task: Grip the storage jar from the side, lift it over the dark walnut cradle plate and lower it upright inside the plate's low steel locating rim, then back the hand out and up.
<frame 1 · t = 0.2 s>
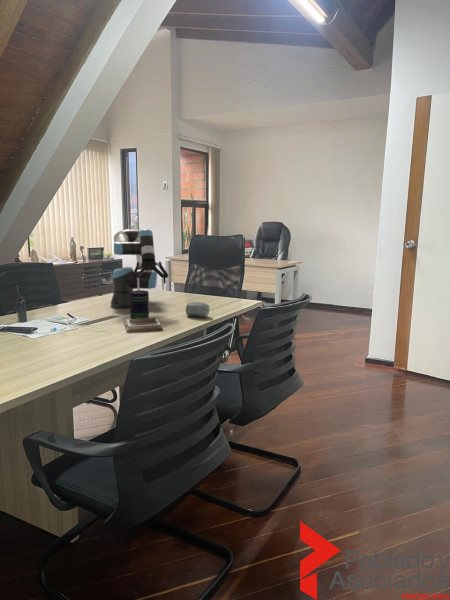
hand: (151, 289, 236), 15 cm above the table, fingers open, 13 cm apart
cradle plate: (143, 327, 213), on the table
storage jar: (139, 319, 229), on the table
spool: (197, 316, 239), on the table
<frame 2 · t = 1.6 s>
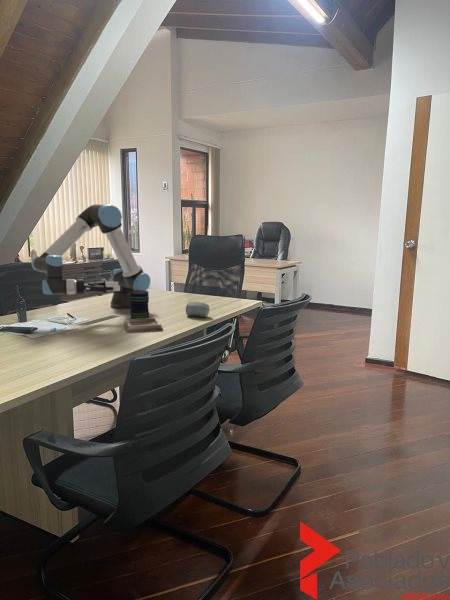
hand: (119, 286, 222), 18 cm above the table, fingers open, 13 cm apart
nothing on the table moved.
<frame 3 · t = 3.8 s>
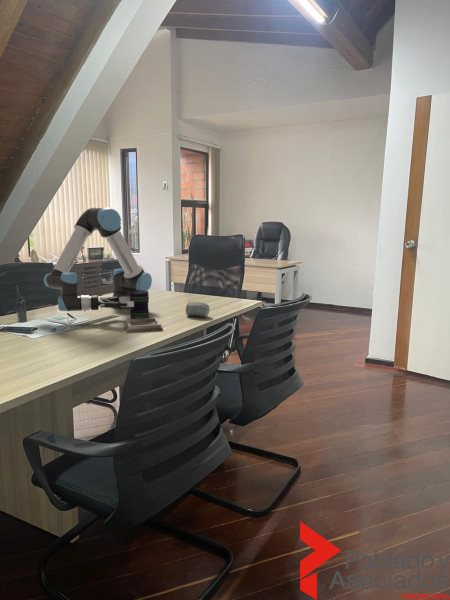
hand: (132, 301, 225), 10 cm above the table, fingers open, 13 cm apart
nothing on the table moved.
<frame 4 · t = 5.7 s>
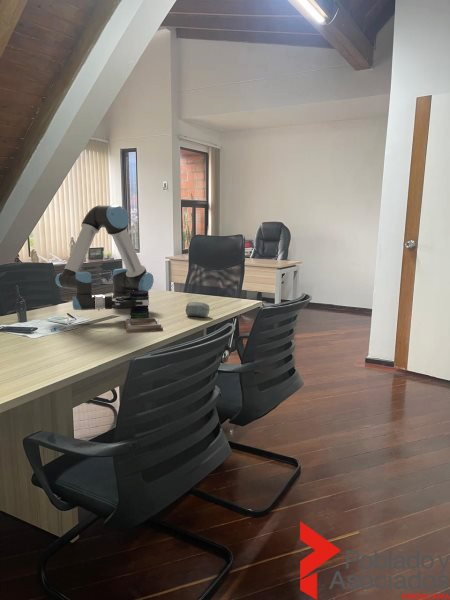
hand: (147, 300, 228), 10 cm above the table, fingers closed on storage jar, 10 cm apart
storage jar: (139, 319, 229), on the table, touching gripper
everything else where it was.
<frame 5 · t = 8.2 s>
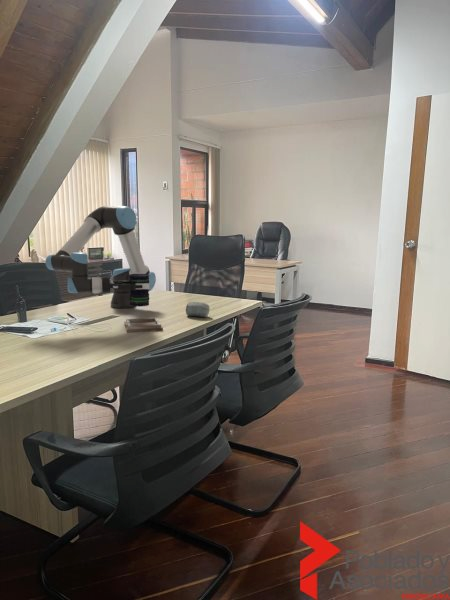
hand: (148, 284, 213), 21 cm above the table, fingers closed on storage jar, 10 cm apart
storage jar: (139, 305, 214), point 11 cm above the table, touching gripper
everything else where it was.
when the fingers open (12 cm above the table, at t = 10.8 s): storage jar drops 1 cm, resting on cradle plate.
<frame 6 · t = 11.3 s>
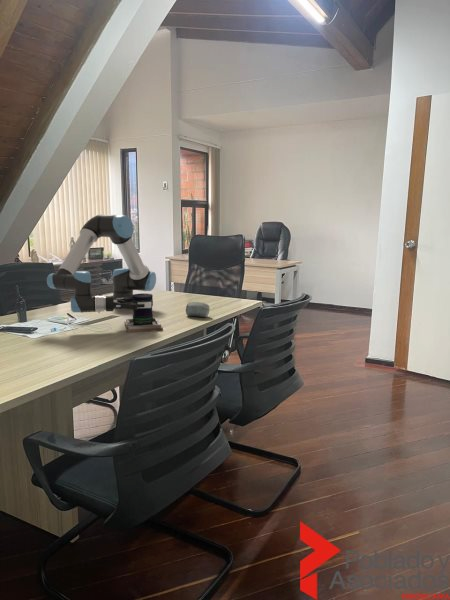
hand: (149, 302, 211), 12 cm above the table, fingers open, 13 cm apart
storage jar: (143, 325, 213), point 1 cm above the table, touching cradle plate
everything else where it was.
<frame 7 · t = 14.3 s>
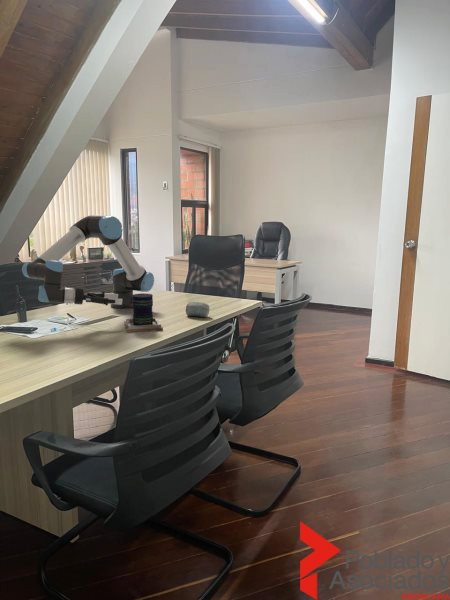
hand: (120, 299, 210), 14 cm above the table, fingers open, 13 cm apart
nothing on the table moved.
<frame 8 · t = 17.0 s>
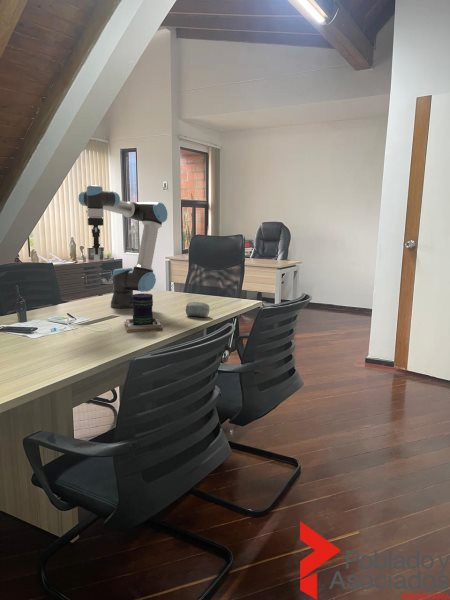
hand: (96, 259, 219), 32 cm above the table, fingers open, 13 cm apart
nothing on the table moved.
at the end: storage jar 0.1 cm off-centre on the cradle plate, point 1.0 cm above the cradle plate's base; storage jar tilted 0°; the gripper is holding nothing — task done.
